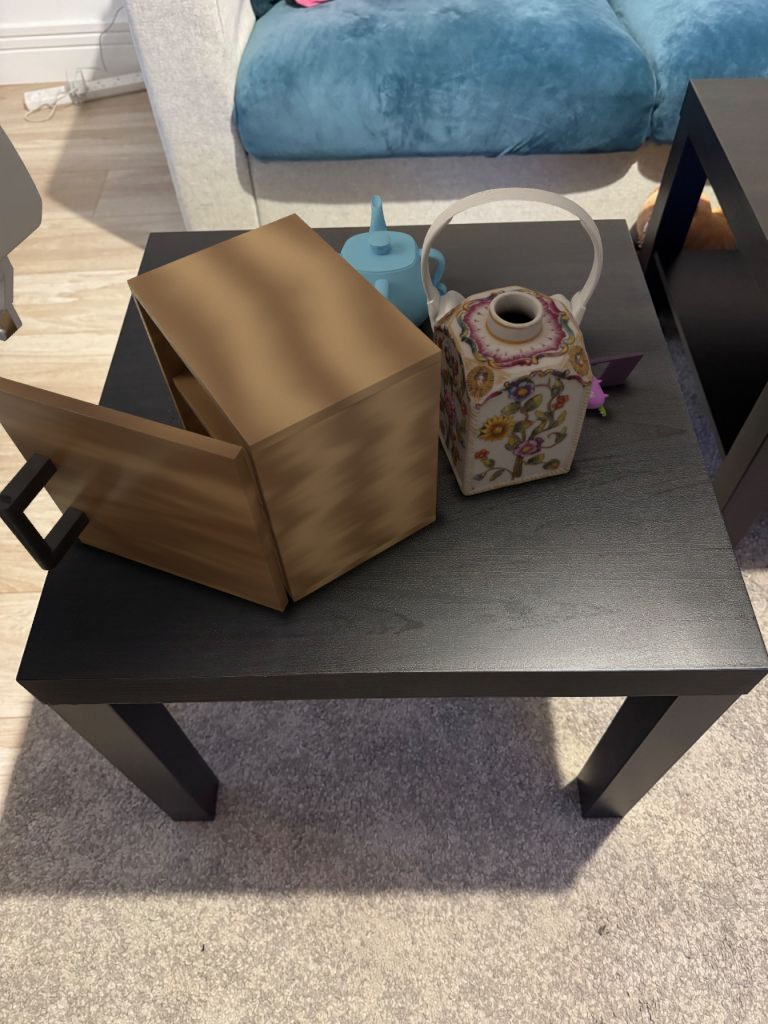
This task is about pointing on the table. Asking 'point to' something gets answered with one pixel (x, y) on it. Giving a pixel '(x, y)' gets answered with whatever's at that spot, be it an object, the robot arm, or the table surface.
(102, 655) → the table surface
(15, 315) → the robot arm
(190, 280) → the cupboard
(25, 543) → the door
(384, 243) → the teapot
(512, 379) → the decorative jar
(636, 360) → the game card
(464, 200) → the headphones
